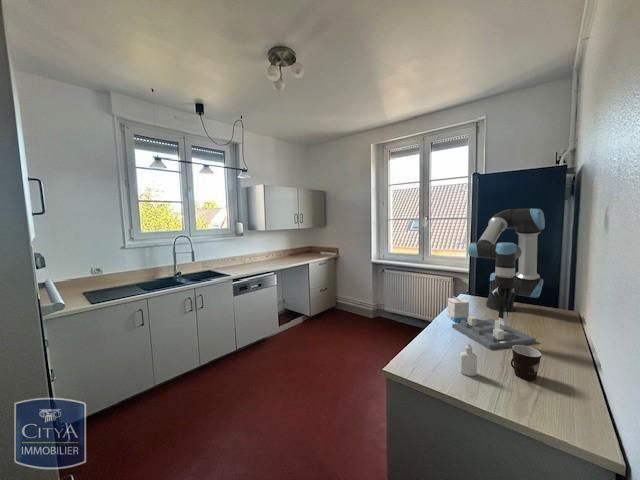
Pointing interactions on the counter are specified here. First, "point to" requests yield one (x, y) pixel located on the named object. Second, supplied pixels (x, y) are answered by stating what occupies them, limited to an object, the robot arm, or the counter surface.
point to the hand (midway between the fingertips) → (502, 324)
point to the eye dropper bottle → (468, 362)
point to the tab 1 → (472, 321)
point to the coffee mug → (525, 362)
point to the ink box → (458, 309)
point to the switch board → (485, 334)
